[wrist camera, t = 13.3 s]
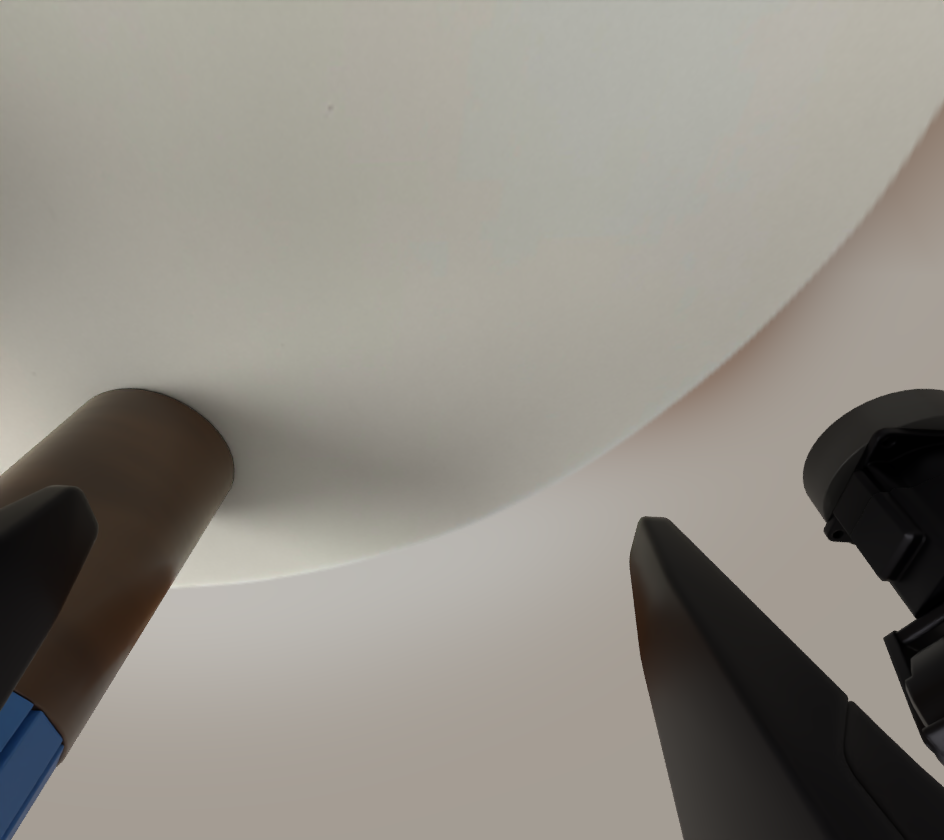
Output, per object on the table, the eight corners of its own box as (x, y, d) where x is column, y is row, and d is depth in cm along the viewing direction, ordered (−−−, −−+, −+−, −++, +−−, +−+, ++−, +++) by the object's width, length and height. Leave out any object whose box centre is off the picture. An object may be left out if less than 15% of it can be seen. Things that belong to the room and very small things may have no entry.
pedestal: (215, 392, 22) (2, 649, 13) (247, 516, 26) (101, 786, 16) (50, 384, 22) (-284, 633, 13) (106, 508, 26) (-121, 773, 16)
